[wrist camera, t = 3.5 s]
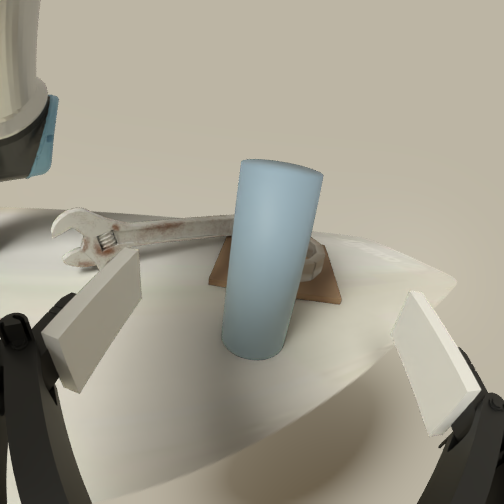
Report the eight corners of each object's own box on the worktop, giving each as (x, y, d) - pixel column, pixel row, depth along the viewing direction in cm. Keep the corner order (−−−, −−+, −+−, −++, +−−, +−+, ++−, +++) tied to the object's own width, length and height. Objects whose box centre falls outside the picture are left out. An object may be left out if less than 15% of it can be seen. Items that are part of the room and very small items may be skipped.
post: (216, 353, 25) (235, 167, 18) (226, 314, 30) (245, 156, 24) (283, 364, 25) (329, 183, 18) (283, 322, 30) (317, 168, 23)
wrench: (244, 249, 49) (56, 279, 29) (237, 245, 51) (54, 272, 31) (253, 202, 47) (50, 213, 26) (245, 199, 48) (49, 209, 28)
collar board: (208, 284, 35) (210, 259, 34) (229, 234, 49) (231, 215, 48) (339, 304, 35) (347, 281, 33) (323, 249, 49) (328, 231, 48)
